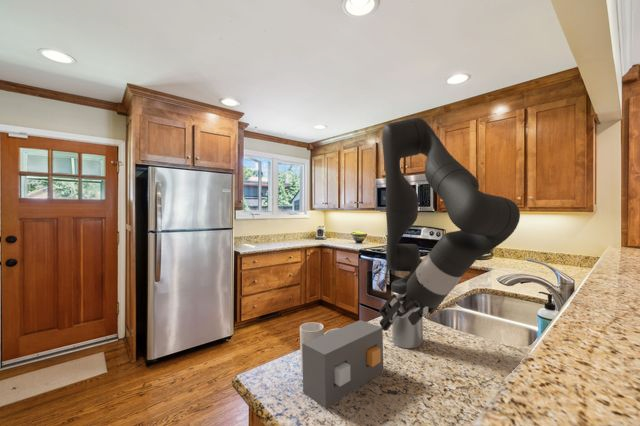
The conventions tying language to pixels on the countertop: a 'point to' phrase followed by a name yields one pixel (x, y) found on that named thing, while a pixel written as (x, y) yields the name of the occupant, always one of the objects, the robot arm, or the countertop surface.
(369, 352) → the orange button
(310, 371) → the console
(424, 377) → the countertop surface
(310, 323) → the mug
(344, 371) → the white cube
